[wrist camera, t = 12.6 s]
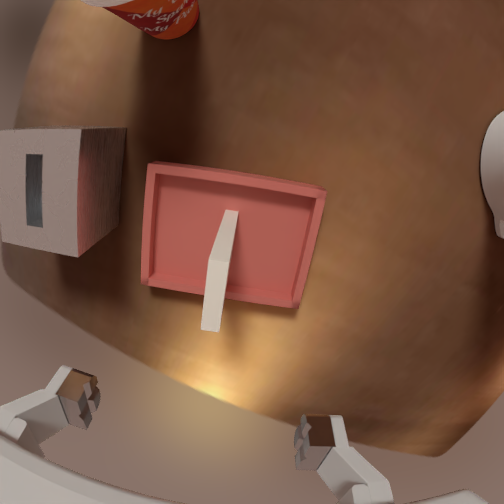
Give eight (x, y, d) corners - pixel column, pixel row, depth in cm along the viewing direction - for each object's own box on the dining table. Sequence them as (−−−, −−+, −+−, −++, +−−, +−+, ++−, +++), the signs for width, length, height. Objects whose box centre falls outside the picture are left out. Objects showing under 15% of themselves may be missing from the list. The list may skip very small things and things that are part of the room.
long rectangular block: (238, 211, 30) (229, 262, 18) (230, 260, 31) (218, 332, 20) (225, 209, 30) (208, 259, 18) (218, 258, 31) (200, 329, 20)
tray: (321, 186, 30) (327, 191, 27) (295, 296, 34) (298, 308, 32) (155, 160, 29) (147, 163, 27) (147, 273, 33) (140, 284, 31)
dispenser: (126, 127, 28) (81, 129, 19) (118, 224, 31) (78, 257, 23) (54, 125, 27) (0, 130, 19) (51, 214, 31) (2, 241, 22)
